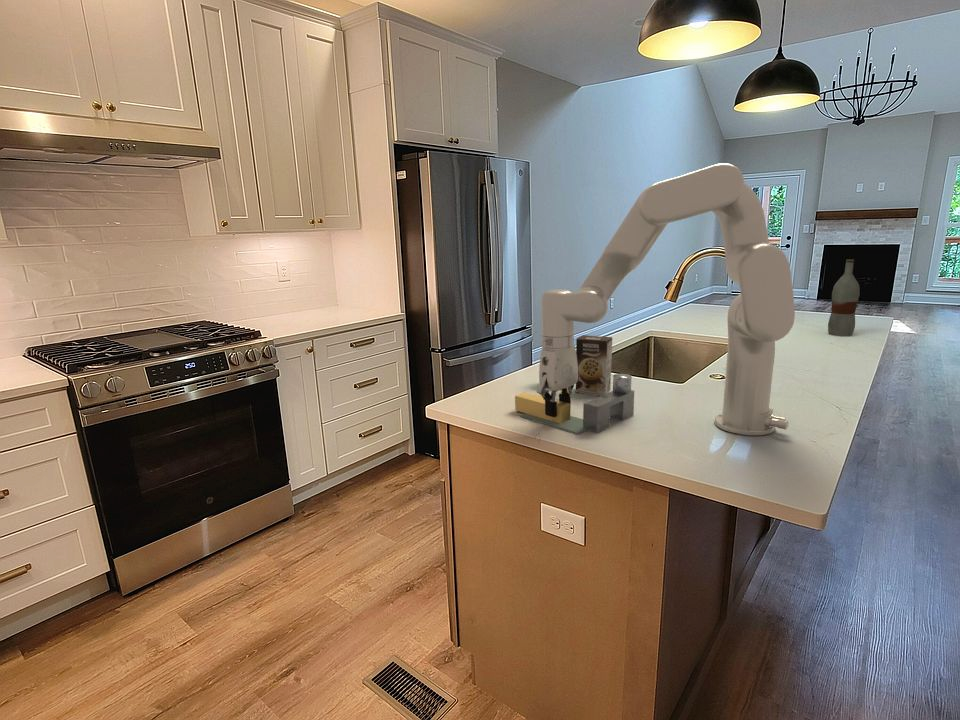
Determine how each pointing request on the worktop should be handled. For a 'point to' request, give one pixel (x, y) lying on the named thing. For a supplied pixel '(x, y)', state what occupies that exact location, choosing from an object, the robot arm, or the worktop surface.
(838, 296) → the bottle
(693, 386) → the worktop surface
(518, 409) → the yellow rectangular block
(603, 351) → the coffee box
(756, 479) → the worktop surface
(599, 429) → the housing
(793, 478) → the worktop surface
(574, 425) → the mat
